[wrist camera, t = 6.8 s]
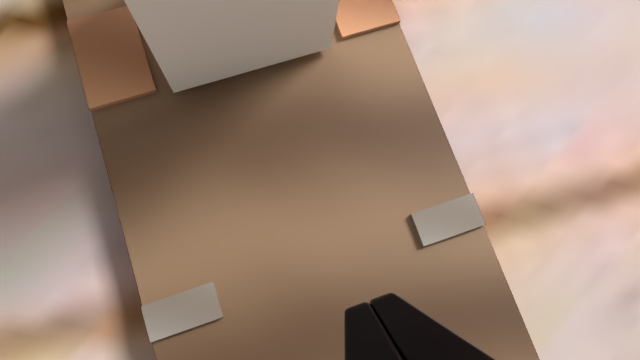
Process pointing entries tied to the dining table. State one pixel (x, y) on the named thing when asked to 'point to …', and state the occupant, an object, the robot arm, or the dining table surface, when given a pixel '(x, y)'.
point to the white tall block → (230, 35)
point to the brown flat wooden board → (289, 194)
